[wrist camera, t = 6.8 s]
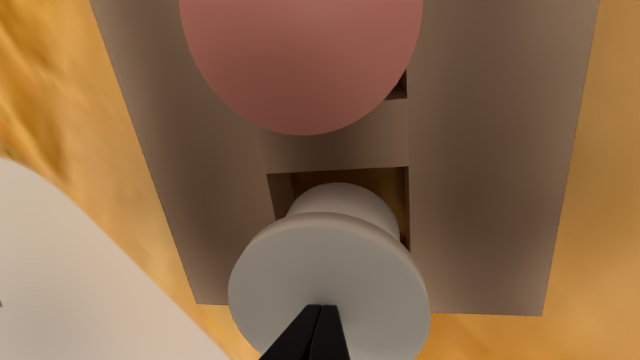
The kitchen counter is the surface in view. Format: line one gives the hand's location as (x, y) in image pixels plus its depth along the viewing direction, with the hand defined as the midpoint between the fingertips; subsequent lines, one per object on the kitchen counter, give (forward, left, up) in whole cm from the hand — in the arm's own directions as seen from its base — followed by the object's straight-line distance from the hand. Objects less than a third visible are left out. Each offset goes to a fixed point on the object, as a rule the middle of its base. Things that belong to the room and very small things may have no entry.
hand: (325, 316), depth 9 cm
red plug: (0, -7, -5) cm, 9 cm away
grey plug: (0, 0, -4) cm, 4 cm away
